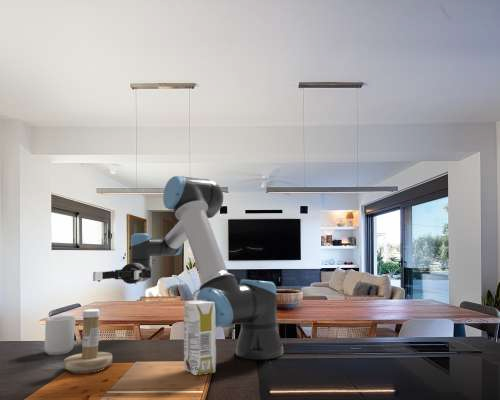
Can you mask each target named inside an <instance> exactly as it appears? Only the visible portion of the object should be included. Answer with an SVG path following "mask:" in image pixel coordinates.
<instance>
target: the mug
mask: <svg viewBox="0 0 500 400" xmlns="http://www.w3.org/2000/svg"><path fill="white" fill-rule="evenodd" d="M44 326H45V329H44V330H45V331H44V336H45V337H44V352H45V353H46V354H47V355H48V356H58V355H64V354H68V353H71V351H72V350H74V347H75V345H74V344H75V333H76V331H75V330H76V319H75V316H72V315H60V316H59V315H58V316H53V317H48V318H45V325H44Z"/></svg>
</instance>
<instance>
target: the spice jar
mask: <svg viewBox="0 0 500 400" xmlns="http://www.w3.org/2000/svg"><path fill="white" fill-rule="evenodd" d="M99 318H100V309H99V308H89V309H85V310H82V319H83V320H82V321H83V325H82V326H83V327H82V343H81V345H82V346H81V347H82V348H81V350H82V351H81V353H82V358H83V359H92V358H96V357H97V356H98V352H99V336H100V335H99V334H100V333H99V331H100V327H99V323H100V321H99Z"/></svg>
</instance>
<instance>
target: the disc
mask: <svg viewBox="0 0 500 400" xmlns="http://www.w3.org/2000/svg"><path fill="white" fill-rule="evenodd" d="M112 363H113V354H112V353H111V352H107V351H98V356H97V357H96V358H92V359H83V358H82V352H80V353H76V354H73V355H69V356H68V357H66V358H64V360H63V369H64V370H67V371H69V373H71V374H77V375H78V374H79V375H80V374H81V375H83V374H84V373H85V374H90V373H89V372H93V373H95V372H94V371H97V372H99V371H98V370H101V369H103V368H105V367H106V366H107V367H108V366H110V365H111V364H112ZM107 367H106V368H107ZM106 368H105V369H106ZM103 370H104V369H103ZM101 371H102V370H101Z"/></svg>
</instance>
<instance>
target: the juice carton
mask: <svg viewBox="0 0 500 400" xmlns="http://www.w3.org/2000/svg"><path fill="white" fill-rule="evenodd" d="M183 307H184V309H183V363H184V369H186V370H188V371H190V372H191V373H192V374H193V375H199V374H205V373H210V374H214V373H216V367H217V327H216V311H215V303H214V302H209V301H207V300H197V299H193V300H187V301H186V300H185V301H184V306H183ZM186 370H185V371H186ZM188 371H187V372H188ZM191 373H190V374H191ZM192 374H191V375H192ZM193 375H192V376H193ZM205 375H206V374H205ZM199 376H200V375H199Z"/></svg>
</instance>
